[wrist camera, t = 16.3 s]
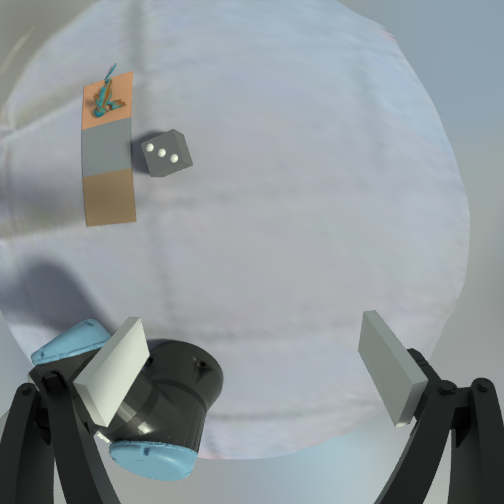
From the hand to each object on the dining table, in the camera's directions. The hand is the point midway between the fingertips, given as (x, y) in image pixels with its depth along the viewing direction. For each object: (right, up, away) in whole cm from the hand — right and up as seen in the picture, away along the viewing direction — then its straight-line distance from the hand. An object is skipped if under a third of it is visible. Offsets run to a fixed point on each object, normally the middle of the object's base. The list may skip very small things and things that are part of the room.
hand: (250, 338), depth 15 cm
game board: (-24, +22, +23) cm, 40 cm away
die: (-12, +19, +23) cm, 32 cm away
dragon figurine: (-23, +31, +20) cm, 44 cm away
